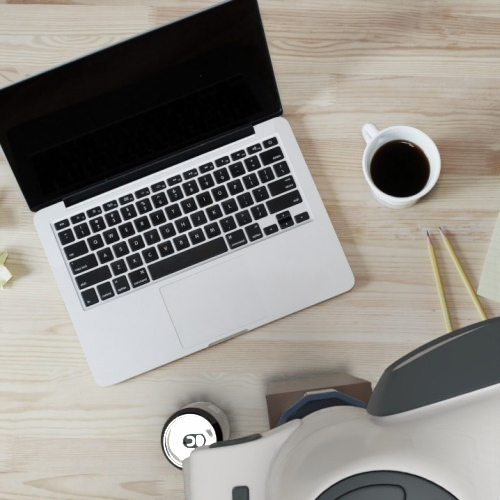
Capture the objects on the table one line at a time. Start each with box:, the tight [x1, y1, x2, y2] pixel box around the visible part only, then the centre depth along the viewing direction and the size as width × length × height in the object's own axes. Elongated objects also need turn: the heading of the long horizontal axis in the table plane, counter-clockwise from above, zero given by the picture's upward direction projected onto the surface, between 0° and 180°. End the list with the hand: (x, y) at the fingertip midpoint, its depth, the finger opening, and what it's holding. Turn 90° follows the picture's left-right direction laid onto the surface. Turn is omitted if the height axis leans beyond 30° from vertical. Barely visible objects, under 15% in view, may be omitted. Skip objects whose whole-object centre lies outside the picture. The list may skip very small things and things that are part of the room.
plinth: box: [265, 372, 373, 430], centre depth 73 cm, size 9×9×27 cm
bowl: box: [275, 388, 367, 428], centre depth 57 cm, size 9×9×5 cm
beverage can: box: [160, 401, 231, 472], centre depth 81 cm, size 7×7×12 cm
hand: (331, 454), depth 53 cm, fingers open, 8 cm apart
